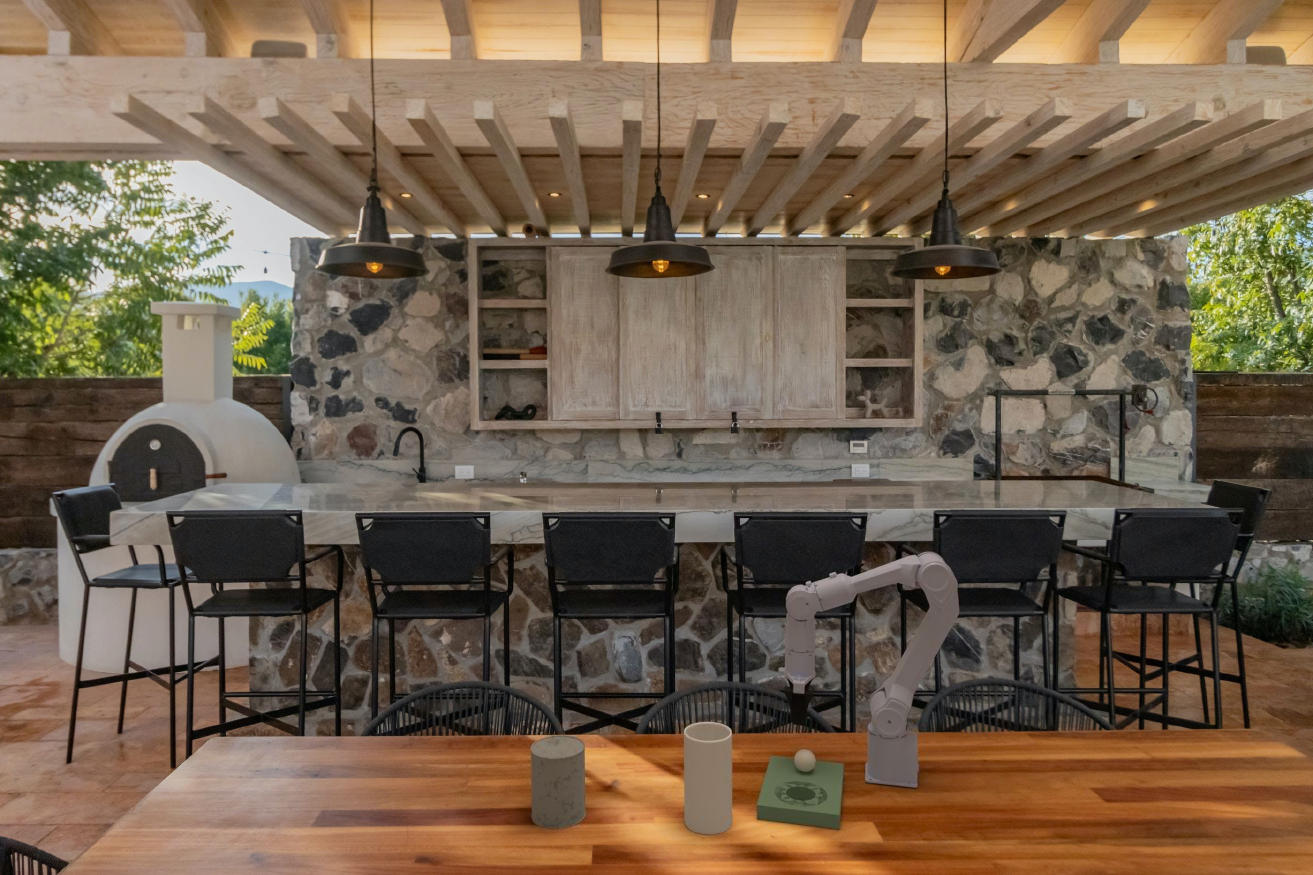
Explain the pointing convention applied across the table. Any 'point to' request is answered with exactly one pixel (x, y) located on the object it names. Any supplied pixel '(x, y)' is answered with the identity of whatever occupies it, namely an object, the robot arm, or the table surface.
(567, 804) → the grey marble cylinder
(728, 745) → the cup
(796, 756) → the ball
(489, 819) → the table surface
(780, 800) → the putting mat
